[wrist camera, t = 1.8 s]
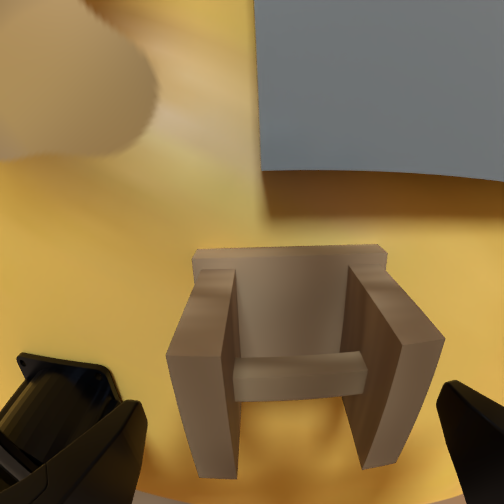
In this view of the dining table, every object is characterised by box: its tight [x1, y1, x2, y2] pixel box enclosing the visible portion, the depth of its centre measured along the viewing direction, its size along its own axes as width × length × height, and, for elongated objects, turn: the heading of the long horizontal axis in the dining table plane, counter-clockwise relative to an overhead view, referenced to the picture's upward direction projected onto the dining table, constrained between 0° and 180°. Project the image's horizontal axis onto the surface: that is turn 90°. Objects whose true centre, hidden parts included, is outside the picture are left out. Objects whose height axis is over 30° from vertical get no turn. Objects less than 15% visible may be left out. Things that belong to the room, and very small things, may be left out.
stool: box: [166, 244, 445, 479], centre depth 10 cm, size 7×6×6 cm
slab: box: [254, 0, 504, 182], centre depth 8 cm, size 14×14×2 cm
